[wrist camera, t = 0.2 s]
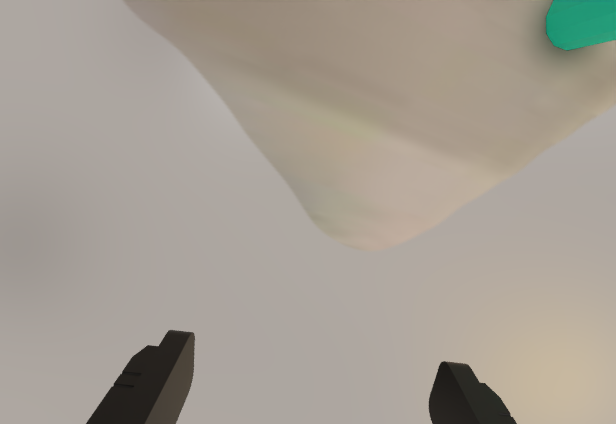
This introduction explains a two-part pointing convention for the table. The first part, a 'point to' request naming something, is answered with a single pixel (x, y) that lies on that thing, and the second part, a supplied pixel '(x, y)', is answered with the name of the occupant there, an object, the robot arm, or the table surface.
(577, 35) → the candle
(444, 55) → the table surface
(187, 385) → the robot arm
